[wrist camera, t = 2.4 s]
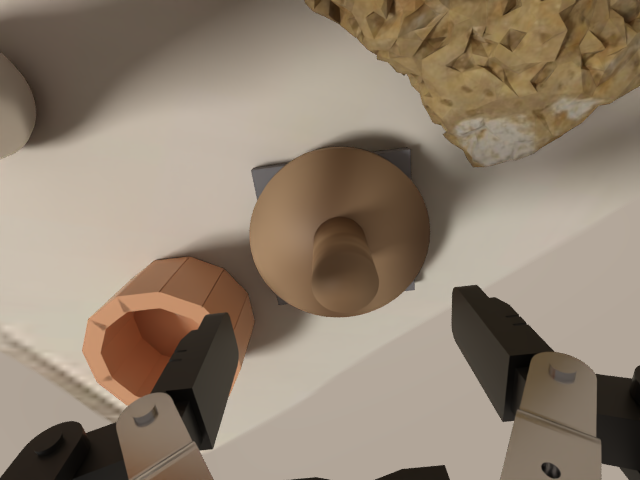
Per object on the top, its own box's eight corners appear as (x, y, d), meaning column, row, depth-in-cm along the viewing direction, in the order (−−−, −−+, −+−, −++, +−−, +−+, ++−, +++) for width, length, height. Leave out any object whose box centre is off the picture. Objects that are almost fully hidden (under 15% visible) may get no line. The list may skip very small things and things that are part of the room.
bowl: (237, 250, 22) (218, 284, 18) (263, 358, 25) (252, 408, 21) (107, 266, 23) (59, 303, 18) (149, 369, 26) (116, 421, 22)
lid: (422, 134, 19) (467, 149, 13) (425, 297, 23) (461, 364, 17) (236, 159, 19) (200, 183, 13) (270, 314, 23) (253, 385, 17)
